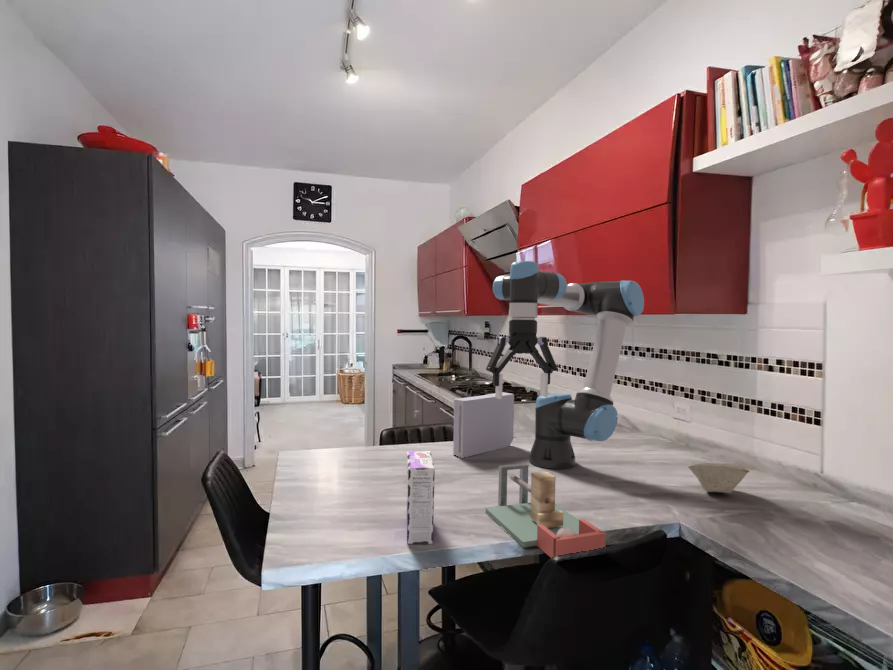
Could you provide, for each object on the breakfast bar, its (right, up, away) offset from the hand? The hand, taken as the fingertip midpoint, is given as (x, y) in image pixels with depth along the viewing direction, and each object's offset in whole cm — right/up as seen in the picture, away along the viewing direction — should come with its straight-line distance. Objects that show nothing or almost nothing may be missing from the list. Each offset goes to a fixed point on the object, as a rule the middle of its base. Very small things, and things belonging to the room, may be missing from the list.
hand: (521, 397), depth 135 cm
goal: (+5, -28, -32) cm, 42 cm away
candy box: (-27, -27, -23) cm, 45 cm away
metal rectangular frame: (-3, -27, -6) cm, 28 cm away
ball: (+5, -26, -30) cm, 40 cm away
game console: (-7, -26, +48) cm, 54 cm away
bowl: (+56, -28, +5) cm, 62 cm away
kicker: (0, -25, -15) cm, 30 cm away
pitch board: (+1, -27, -19) cm, 33 cm away
